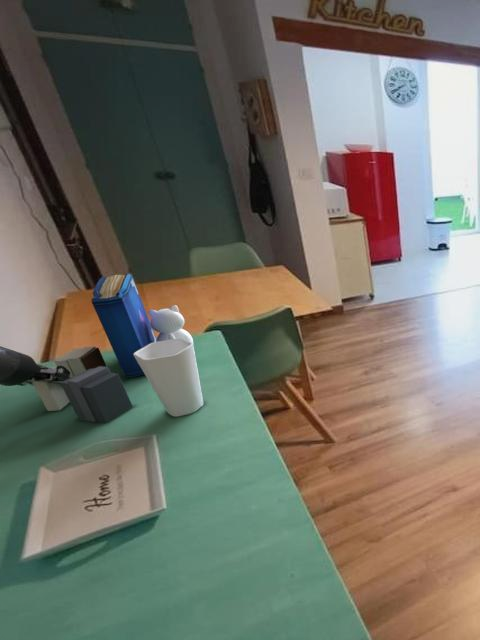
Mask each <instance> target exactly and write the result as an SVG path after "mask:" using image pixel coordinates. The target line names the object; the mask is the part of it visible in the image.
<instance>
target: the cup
mask: <svg viewBox="0 0 480 640" xmlns="http://www.w3.org/2000/svg"><path fill="white" fill-rule="evenodd" d="M133 355H134V357H135V359H136V360H137V362H138V364H139V365H140V367H141V369H142V370H143V372H144V376H145V377H146V379H147V380H148V382H149V384H150V385H151V387H152V388H153V391H154V392H155V394H156V396H157V397H158V399H159V401H160V403H161V404H162V406H163V408H164V409H165V411H166V412H167V414H169V415H170V416H172V417H181V416H182V417H183V416H186V415H190V414H191V415H192V414H193V413H195V412H197V411H199V409H200V408H201V407H202V406H203V405H204V399H203V394H202V386H201V382H200V381H201V380H200V375H199V369H198V364H197V358H196V353H195V346H194V342H193V343H191V342H189V341H187V340H184V339H182V338H178V339H172V340H165V341H159V342H154V343H150V344H149V345H147V346H145V347H143V348H142V349H140V350H138V351H136V352H135V353H134V354H133Z"/></svg>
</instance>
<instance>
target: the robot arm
mask: <svg viewBox="0 0 480 640" xmlns="http://www.w3.org/2000/svg"><path fill="white" fill-rule="evenodd" d="M55 367H56V366H55ZM51 368H52V367H48V366H44V365H42V364H38V363H36V361H35V359H34V358H33V357H32V356H30V355H28V354H25V353H22V352H19V351H16V350H13V349H10V348H8V347H3V346H1V345H0V386H5V387H13V386H21V387H24V386H27V385H28V386H33V387H34V385H33V383H32V382H42V383H57V384H61V382H63V381H65V380H67V379H69V378H71V377H70V371H69V370H68V369H66V368H65V367H64V366H57V367H56V369H51ZM54 378H56V379H54Z"/></svg>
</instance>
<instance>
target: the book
mask: <svg viewBox="0 0 480 640" xmlns="http://www.w3.org/2000/svg"><path fill="white" fill-rule="evenodd" d="M92 295H93V297H92V298H91V299H90V301H91V304H92V306H93V309H94V311H95V313H96V316H97V317H98V320H99V322H100V324H101V326H102V329H103V331H104V333H105V335H106V338H107V340H108V342H109V344H110V347H111V349H112V351H113V353H114V355H115V358H116V360H117V362H118V364H119V366H120V369H121V371H122V373H123V375H124V377H125V378H134V377H141V376H143V375H144V376H145V374H144V372H143V370H142V369H141V367H140V365H139V364H138V362H137V360H136V359H135V357H134V355H133V354H134V353H135V352H136V351H138V350H140V349H142V348H143V347H145V346H147V345H149V344H150V343H154V342H156V339H157V336H156V333H155V332H154V331H155V330H154V329H153V328H152V326H151V320H150V318H149V316H148V314H147V311H146V307H145V306H144V303H143V300H142V298H141V295H140V293H139V289H138V288H137V284H136V282H135V279H134V277H133V274H131V273H129V272H128V273H126V274H125V275H124V274H114V275H110V276H105V275H102V276H101V277H100V278H99V279H98V280H97V282H96V284H95V286H94V289H93V291H92Z"/></svg>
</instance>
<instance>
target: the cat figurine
mask: <svg viewBox="0 0 480 640" xmlns="http://www.w3.org/2000/svg"><path fill="white" fill-rule="evenodd" d="M148 314H149V317H150V324H151V326H152V329H153V331H155V332H157V333H159V334H158V335H157V336H156V342H159V341H165V340H172V339H178V338H182V339H184V340H187V341H189V342H191V343H193V344H194V339H193V336H192V335H191V334H190V333H189V331H187V330H185V329H184V328H183V327H184V325H185V318H184V316H183V315H182V314H181V312H180V309H179V307H178V305H176V304H174V305H172V306H171V307H169V308H161V309H159V310H158V309H157V310H155V309H152V308H151V309H149V310H148Z"/></svg>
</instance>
